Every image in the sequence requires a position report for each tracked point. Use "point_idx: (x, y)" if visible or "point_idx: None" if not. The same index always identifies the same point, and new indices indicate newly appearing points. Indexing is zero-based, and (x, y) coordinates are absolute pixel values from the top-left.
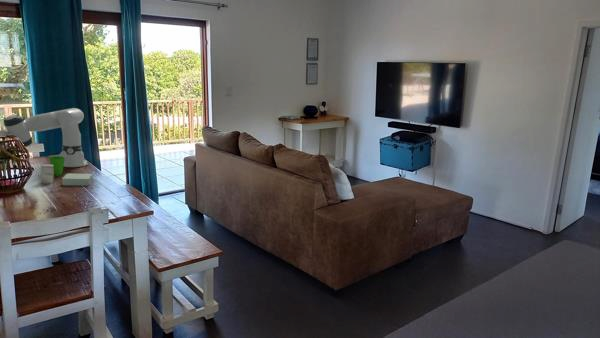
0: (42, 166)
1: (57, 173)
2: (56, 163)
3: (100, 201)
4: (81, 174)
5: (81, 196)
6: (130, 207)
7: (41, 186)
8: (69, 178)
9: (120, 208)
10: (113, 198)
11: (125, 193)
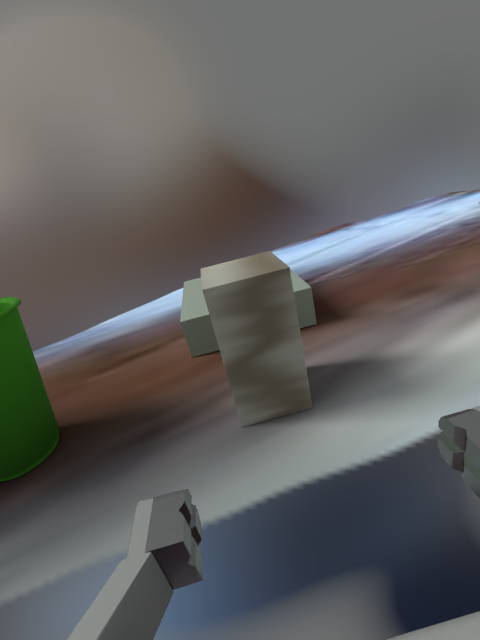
0: (287, 266)
1: (54, 423)
2: (24, 347)
3: (445, 221)
4: (199, 291)
5: (437, 244)
6: (441, 202)
7: (402, 367)
8: (295, 278)
9: (464, 201)
10: (396, 225)
11: (334, 235)
